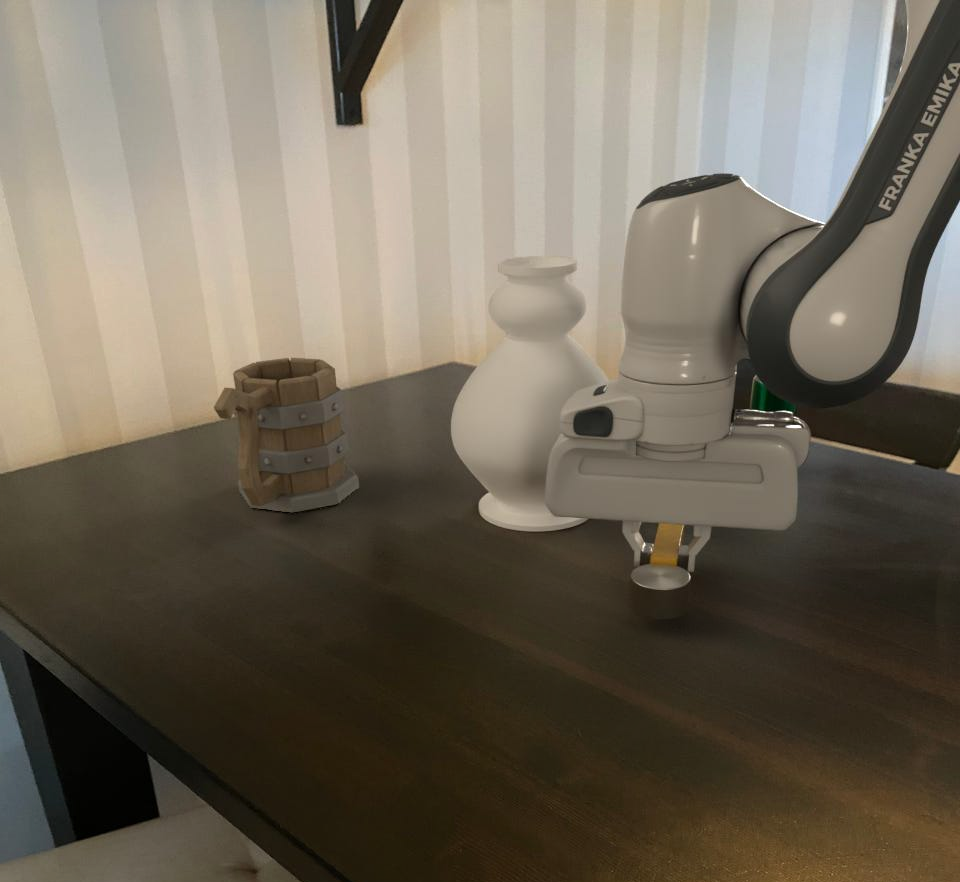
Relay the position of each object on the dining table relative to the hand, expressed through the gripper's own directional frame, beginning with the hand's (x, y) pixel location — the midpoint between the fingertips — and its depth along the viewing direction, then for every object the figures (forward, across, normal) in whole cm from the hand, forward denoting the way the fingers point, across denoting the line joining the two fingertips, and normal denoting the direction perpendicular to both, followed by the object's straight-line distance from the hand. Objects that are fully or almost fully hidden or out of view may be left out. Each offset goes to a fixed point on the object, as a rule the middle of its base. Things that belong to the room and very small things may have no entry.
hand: (663, 567), depth 80 cm
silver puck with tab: (+2, 0, 0) cm, 2 cm away
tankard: (+3, +43, -15) cm, 46 cm away
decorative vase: (+4, +15, -19) cm, 25 cm away
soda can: (+4, -9, -34) cm, 35 cm away
